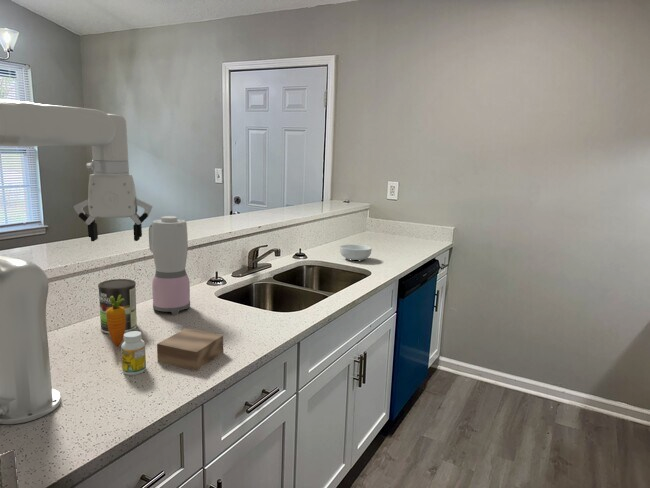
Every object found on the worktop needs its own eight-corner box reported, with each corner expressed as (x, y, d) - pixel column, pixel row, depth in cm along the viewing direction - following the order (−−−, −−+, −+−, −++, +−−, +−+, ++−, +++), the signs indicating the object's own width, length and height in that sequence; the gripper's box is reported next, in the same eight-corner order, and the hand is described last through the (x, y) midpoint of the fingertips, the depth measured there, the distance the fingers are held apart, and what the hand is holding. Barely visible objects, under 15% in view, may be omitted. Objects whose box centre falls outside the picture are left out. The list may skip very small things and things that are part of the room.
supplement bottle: (150, 369, 113) (149, 333, 111) (130, 377, 108) (128, 340, 106) (138, 363, 116) (136, 328, 114) (118, 371, 111) (116, 334, 110)
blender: (198, 307, 159) (196, 217, 153) (171, 317, 148) (168, 221, 142) (165, 299, 166) (163, 212, 160) (138, 308, 155) (134, 216, 149)
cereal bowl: (374, 258, 247) (375, 246, 246) (364, 264, 233) (365, 251, 231) (346, 255, 254) (346, 242, 253) (334, 260, 239) (335, 247, 238)
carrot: (122, 341, 128) (119, 290, 125) (130, 346, 125) (128, 294, 122) (104, 346, 124) (101, 294, 122) (113, 352, 121) (110, 298, 119)
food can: (117, 336, 132) (114, 290, 129) (92, 329, 136) (90, 284, 133) (145, 325, 141) (143, 281, 138) (121, 319, 145) (119, 277, 142)
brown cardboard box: (196, 370, 113) (196, 352, 112) (157, 362, 117) (156, 343, 116) (223, 352, 124) (223, 335, 123) (186, 344, 128) (186, 328, 127)
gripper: (65, 168, 101) (71, 243, 104) (147, 170, 104) (150, 243, 108) (76, 167, 108) (82, 237, 111) (153, 168, 111) (156, 237, 115)
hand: (115, 240), depth 110 cm, fingers open, 9 cm apart
